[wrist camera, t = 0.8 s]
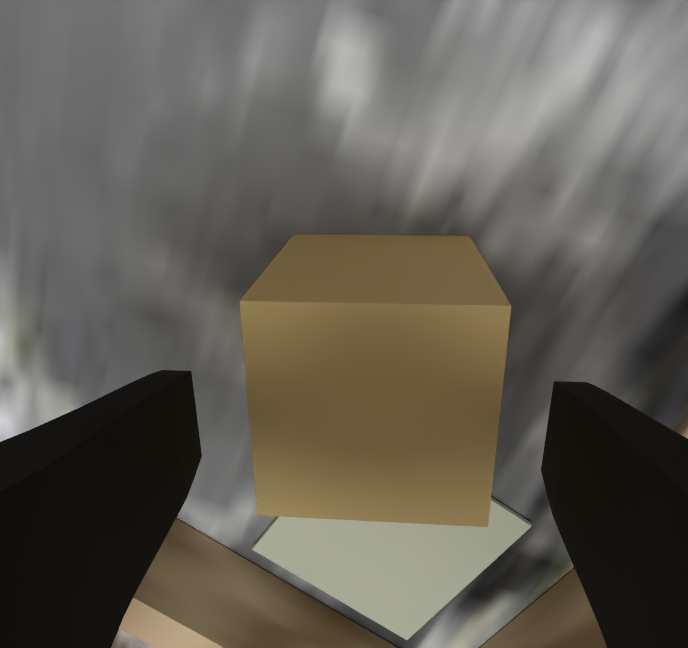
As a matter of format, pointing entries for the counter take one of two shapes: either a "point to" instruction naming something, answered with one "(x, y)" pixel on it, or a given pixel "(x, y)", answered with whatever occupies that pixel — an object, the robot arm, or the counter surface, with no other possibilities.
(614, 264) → the counter surface
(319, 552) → the pad
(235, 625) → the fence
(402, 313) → the block
